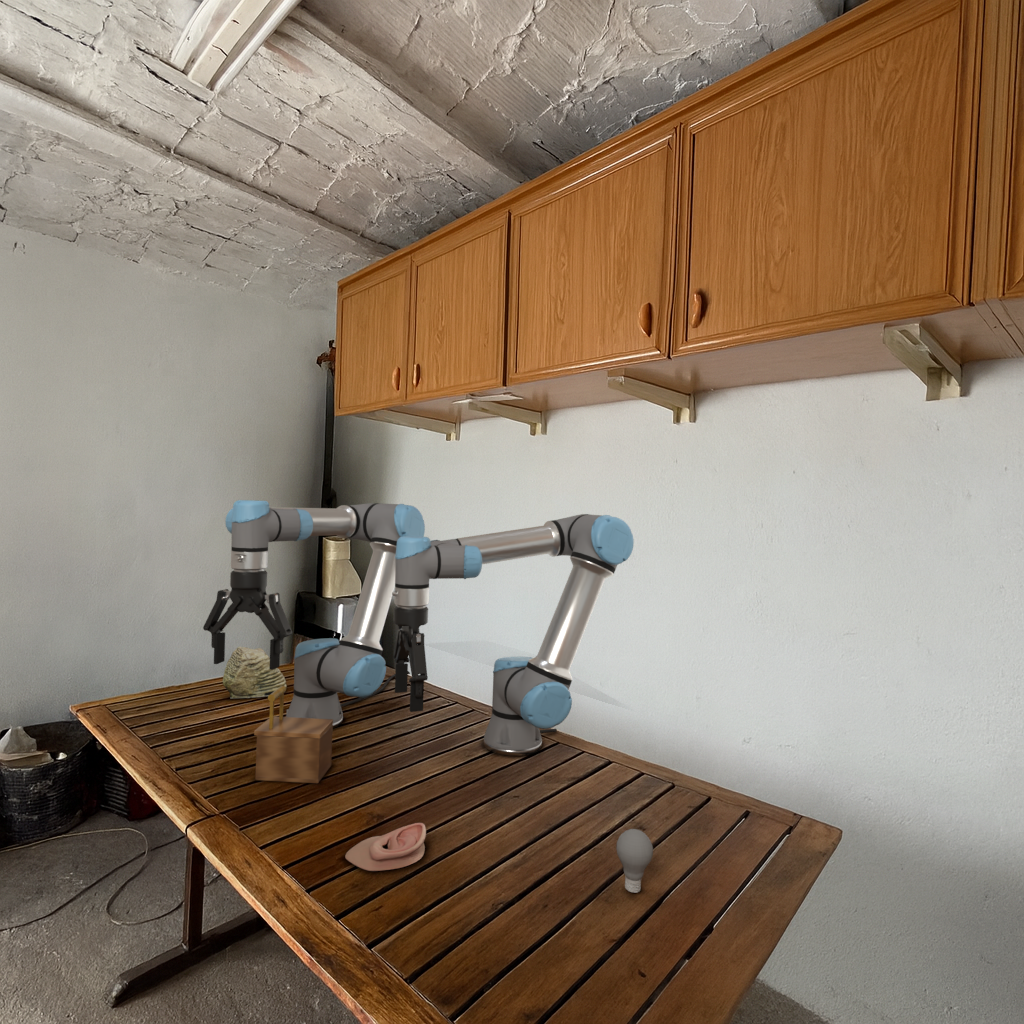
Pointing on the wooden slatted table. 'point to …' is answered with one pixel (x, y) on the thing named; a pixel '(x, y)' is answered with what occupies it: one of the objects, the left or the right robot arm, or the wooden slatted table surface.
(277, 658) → the left robot arm
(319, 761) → the chest
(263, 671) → the fossil
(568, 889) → the wooden slatted table surface
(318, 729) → the panel with bar handle
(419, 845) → the anatomical model
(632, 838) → the light bulb
